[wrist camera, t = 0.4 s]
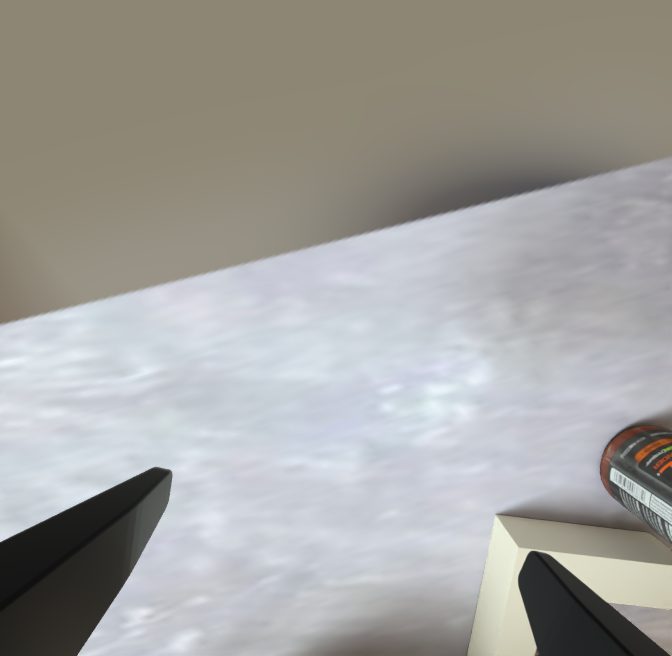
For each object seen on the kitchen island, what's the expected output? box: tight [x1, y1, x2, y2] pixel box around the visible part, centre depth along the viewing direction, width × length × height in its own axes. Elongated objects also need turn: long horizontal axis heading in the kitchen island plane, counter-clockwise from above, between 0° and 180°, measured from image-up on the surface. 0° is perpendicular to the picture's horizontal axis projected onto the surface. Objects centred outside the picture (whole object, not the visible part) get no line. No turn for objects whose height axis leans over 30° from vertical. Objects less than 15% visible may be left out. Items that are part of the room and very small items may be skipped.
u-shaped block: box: [467, 515, 672, 656], centre depth 23 cm, size 14×11×3 cm
